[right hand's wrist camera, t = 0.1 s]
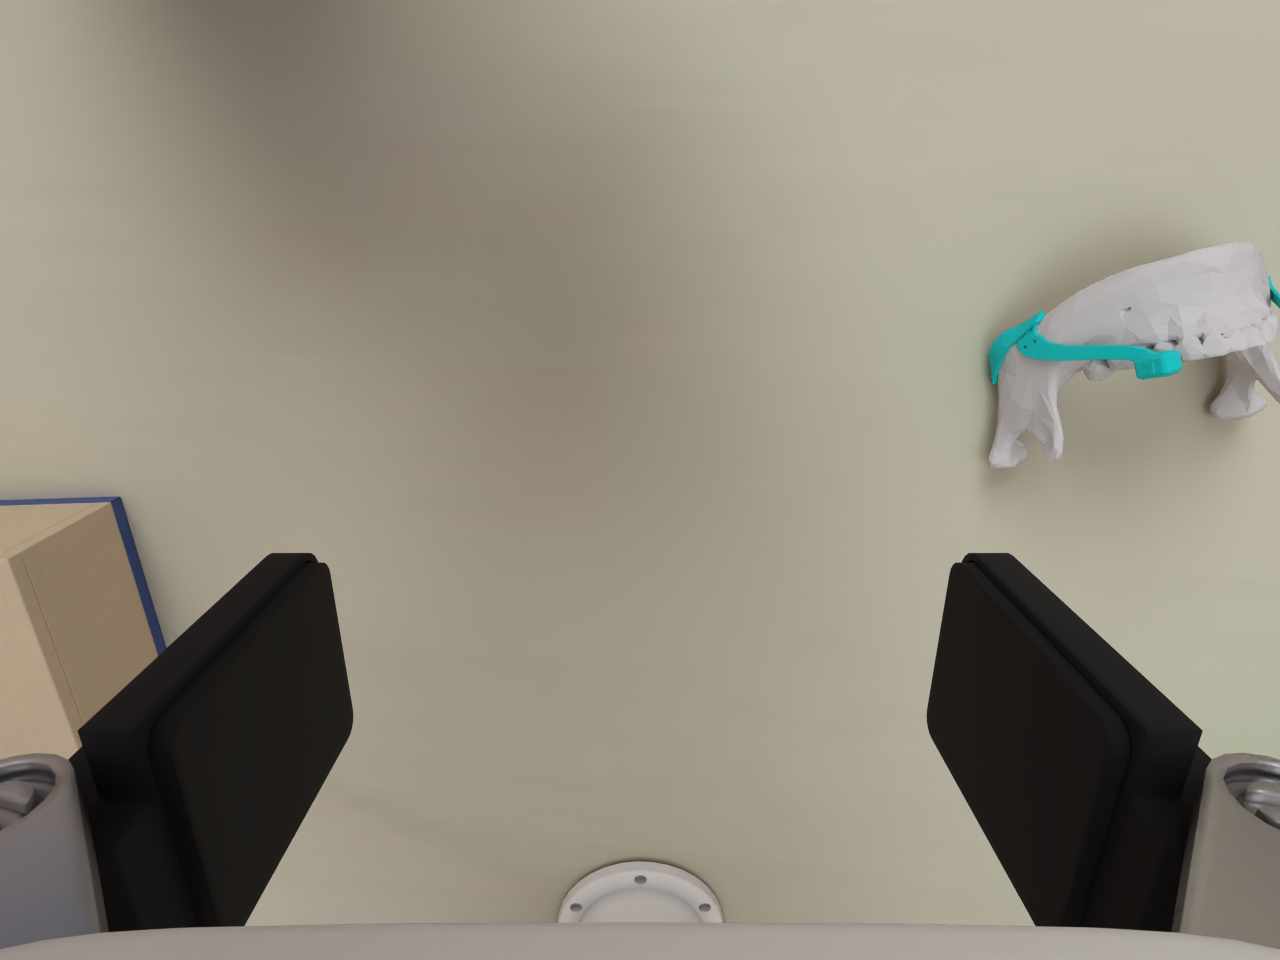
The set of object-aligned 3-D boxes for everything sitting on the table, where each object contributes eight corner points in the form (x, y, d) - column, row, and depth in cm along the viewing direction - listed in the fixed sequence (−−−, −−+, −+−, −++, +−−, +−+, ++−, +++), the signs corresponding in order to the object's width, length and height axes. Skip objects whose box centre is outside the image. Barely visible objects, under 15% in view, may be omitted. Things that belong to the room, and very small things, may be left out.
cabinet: (174, 676, 48) (84, 766, 40) (15, 681, 48) (-105, 772, 40) (120, 496, 44) (7, 558, 36) (-55, 502, 44) (-206, 565, 36)
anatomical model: (1416, 194, 30) (1436, 430, 31) (1227, 235, 40) (1250, 412, 41) (1038, 291, 31) (1075, 512, 33) (950, 306, 41) (981, 475, 43)
